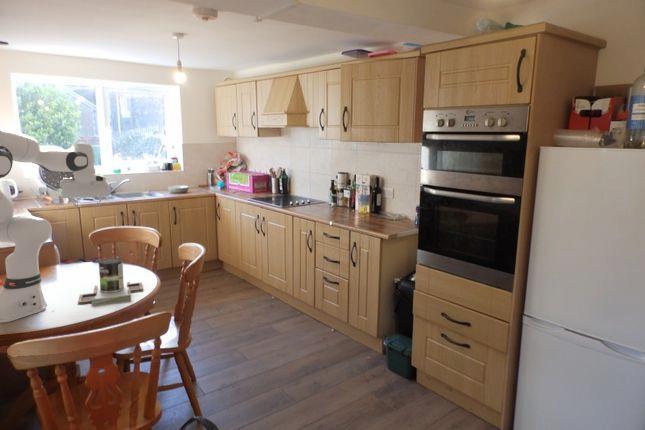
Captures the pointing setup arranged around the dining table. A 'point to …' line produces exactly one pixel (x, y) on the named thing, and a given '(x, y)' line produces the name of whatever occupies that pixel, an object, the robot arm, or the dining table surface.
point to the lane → (90, 297)
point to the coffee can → (111, 275)
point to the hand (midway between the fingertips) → (87, 206)
